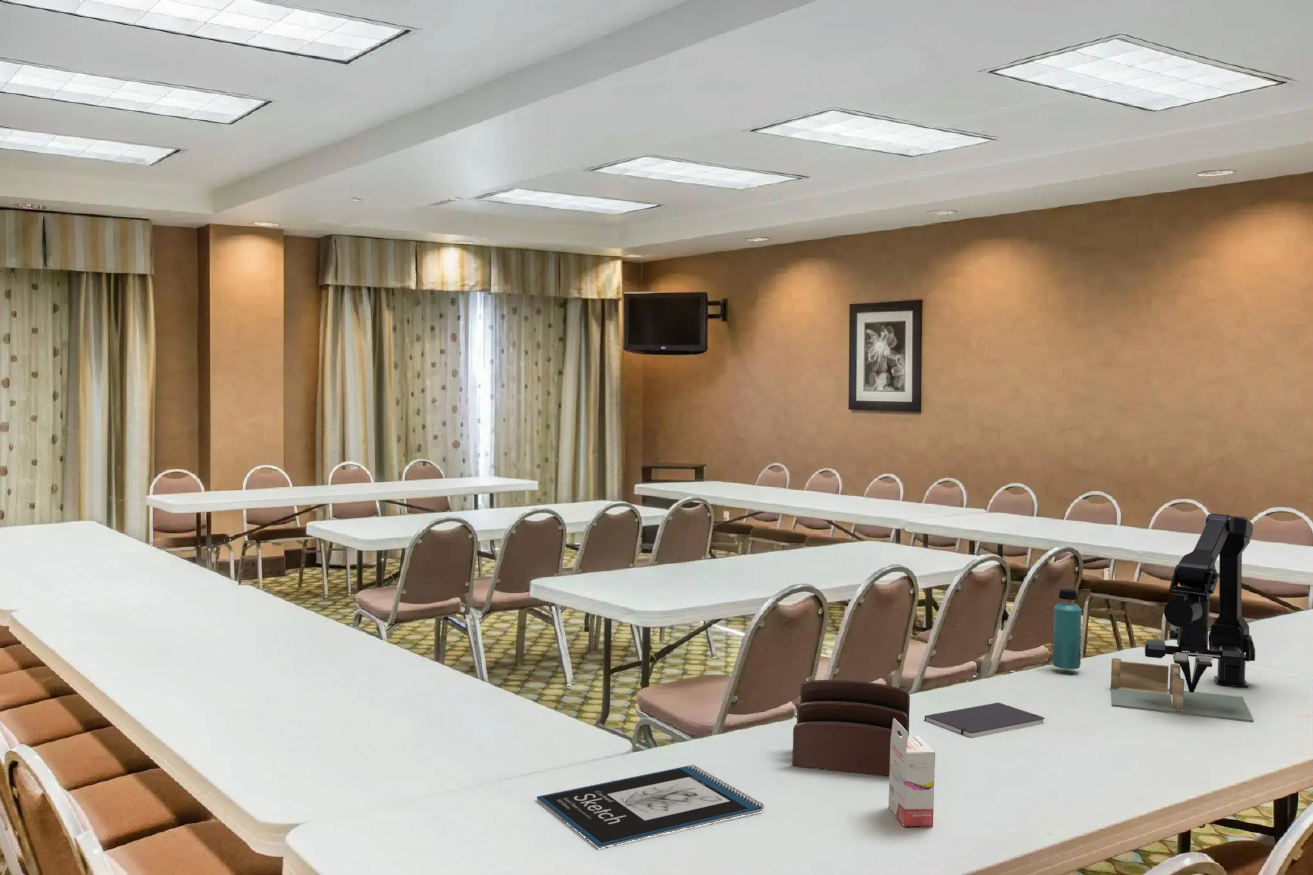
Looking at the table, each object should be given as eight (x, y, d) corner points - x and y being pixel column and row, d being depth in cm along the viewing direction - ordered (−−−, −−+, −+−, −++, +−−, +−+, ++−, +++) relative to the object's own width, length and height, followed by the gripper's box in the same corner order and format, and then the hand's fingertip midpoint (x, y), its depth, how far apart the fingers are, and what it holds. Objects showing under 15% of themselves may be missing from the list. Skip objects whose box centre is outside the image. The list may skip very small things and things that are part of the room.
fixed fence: (1110, 688, 252) (1111, 657, 252) (1178, 695, 247) (1180, 664, 246) (1110, 690, 250) (1111, 659, 250) (1179, 697, 245) (1180, 666, 245)
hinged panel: (1169, 693, 245) (1170, 666, 245) (1179, 694, 244) (1180, 667, 244) (1173, 708, 233) (1174, 679, 233) (1183, 710, 233) (1184, 680, 232)
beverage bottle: (1082, 676, 262) (1085, 592, 261) (1053, 674, 263) (1056, 591, 262) (1077, 669, 268) (1080, 587, 267) (1049, 667, 270) (1051, 586, 269)
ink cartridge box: (935, 827, 170) (937, 733, 169) (903, 828, 170) (906, 733, 169) (917, 806, 179) (919, 716, 178) (887, 806, 178) (889, 716, 177)
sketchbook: (536, 804, 178) (536, 792, 178) (693, 773, 194) (693, 762, 193) (598, 853, 160) (599, 839, 160) (767, 815, 175) (767, 802, 175)
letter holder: (799, 749, 206) (801, 675, 205) (908, 761, 201) (910, 684, 200) (791, 767, 196) (793, 689, 196) (906, 779, 191) (908, 699, 190)
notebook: (998, 709, 236) (924, 723, 225) (998, 702, 236) (924, 715, 225) (1046, 725, 225) (971, 740, 214) (1046, 717, 225) (971, 732, 214)
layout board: (1110, 684, 255) (1111, 682, 255) (1242, 698, 245) (1242, 696, 245) (1111, 706, 238) (1111, 703, 238) (1253, 722, 228) (1253, 719, 228)
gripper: (1238, 616, 240) (1236, 687, 241) (1144, 609, 247) (1142, 678, 248) (1244, 626, 230) (1241, 701, 230) (1146, 618, 237) (1144, 690, 237)
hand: (1191, 692), depth 237 cm, fingers closed
